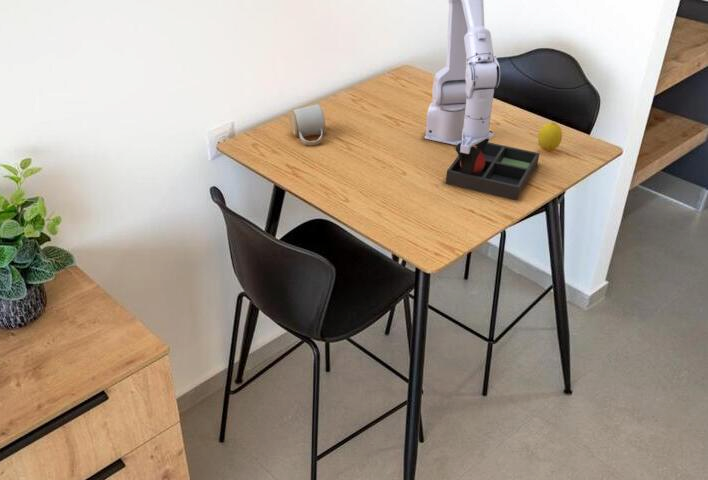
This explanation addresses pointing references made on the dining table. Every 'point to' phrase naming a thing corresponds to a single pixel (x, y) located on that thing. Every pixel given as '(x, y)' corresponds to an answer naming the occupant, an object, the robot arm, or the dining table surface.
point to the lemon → (550, 136)
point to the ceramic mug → (308, 123)
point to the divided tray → (497, 171)
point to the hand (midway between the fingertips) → (471, 166)
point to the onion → (478, 163)
